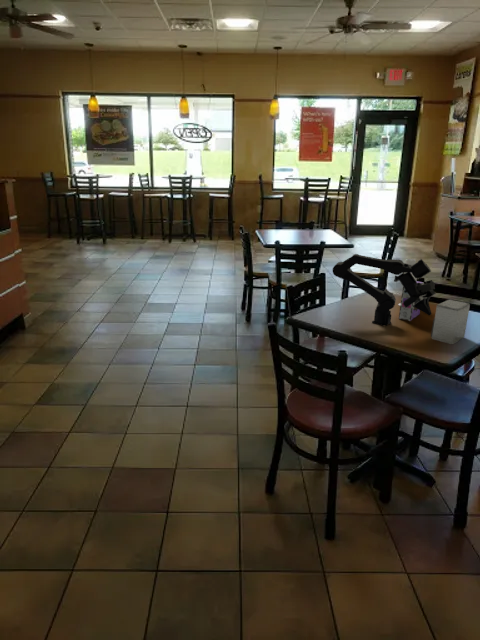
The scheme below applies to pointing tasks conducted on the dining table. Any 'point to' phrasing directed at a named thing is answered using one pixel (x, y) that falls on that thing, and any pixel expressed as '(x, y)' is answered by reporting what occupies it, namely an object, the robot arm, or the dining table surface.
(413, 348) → the dining table surface
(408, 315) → the candy box
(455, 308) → the caddy
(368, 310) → the dining table surface
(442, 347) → the dining table surface
